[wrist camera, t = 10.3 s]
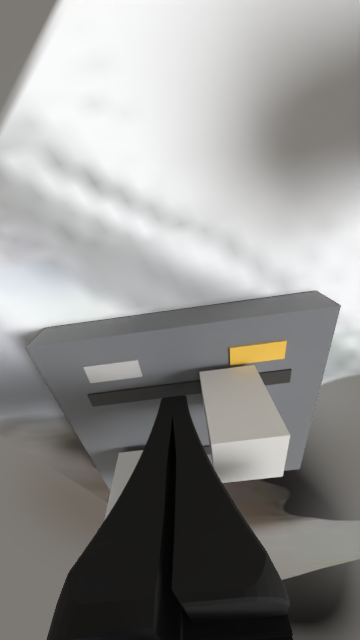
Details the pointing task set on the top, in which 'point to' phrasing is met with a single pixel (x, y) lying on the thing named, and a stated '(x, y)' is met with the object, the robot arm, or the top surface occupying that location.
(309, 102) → the top surface
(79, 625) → the robot arm
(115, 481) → the inner tab
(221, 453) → the outer tab
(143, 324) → the switch panel
